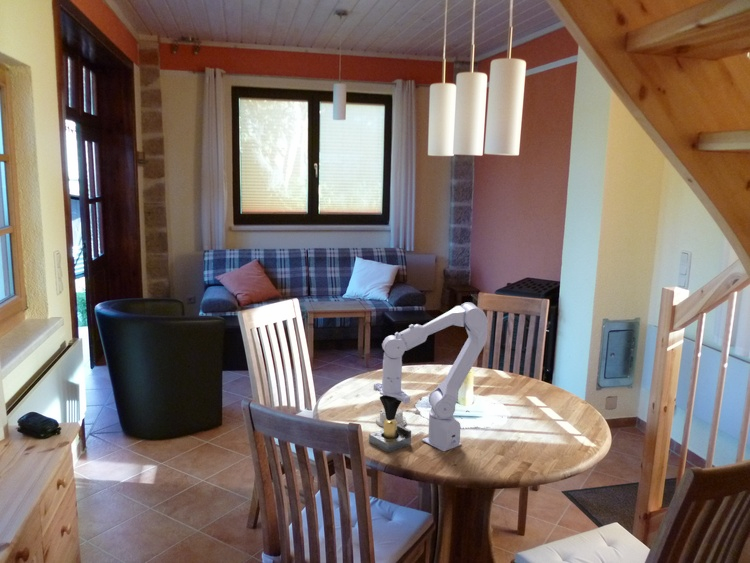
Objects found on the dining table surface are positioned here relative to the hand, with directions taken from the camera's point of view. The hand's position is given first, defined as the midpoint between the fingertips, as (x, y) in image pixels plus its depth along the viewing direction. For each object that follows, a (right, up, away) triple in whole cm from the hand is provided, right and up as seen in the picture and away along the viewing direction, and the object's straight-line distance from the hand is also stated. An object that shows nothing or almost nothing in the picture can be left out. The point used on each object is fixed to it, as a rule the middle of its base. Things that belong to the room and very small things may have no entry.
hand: (390, 419), depth 180 cm
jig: (0, -8, +1) cm, 8 cm away
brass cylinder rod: (0, -8, +1) cm, 8 cm away
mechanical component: (+1, -6, +17) cm, 18 cm away
